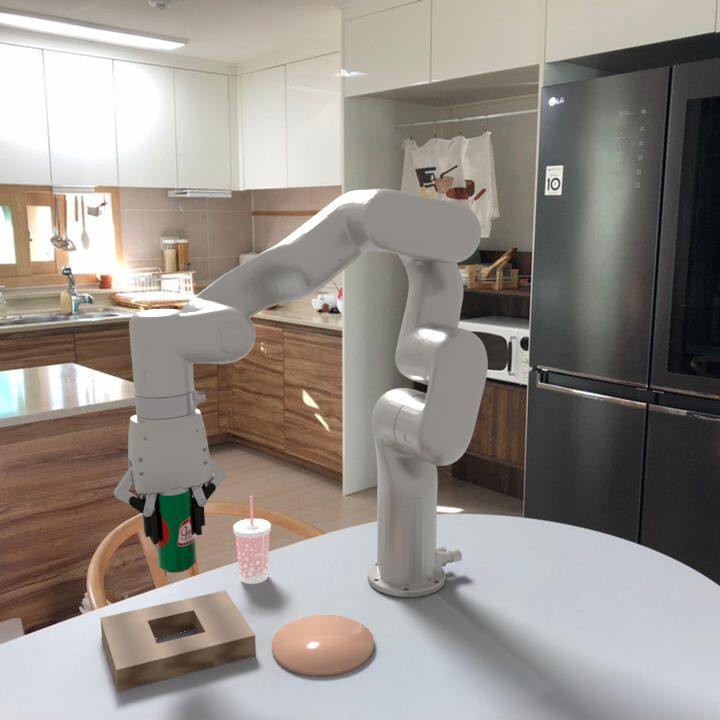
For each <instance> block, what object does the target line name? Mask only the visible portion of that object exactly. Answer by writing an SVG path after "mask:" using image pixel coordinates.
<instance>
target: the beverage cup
mask: <svg viewBox="0 0 720 720" xmlns="http://www.w3.org/2000/svg"><path fill="white" fill-rule="evenodd" d="M253 498H254V496H253V495H250V496H249V511H250V513H249V514H250V518H246V519H241V520H239V521H237V522H235V523H234V524H233V525H232V526H233V530H232V531H233V534H234V535H235V543H236V555H237V564H238V572H239V573H238V576H239V580H240V581H241V582H242V583H245V584H248V585H255V584H260V583H263V582H264V581H266V580H267V579H268V578H269V577H268V575H269V554H270V553H269V550H270V549H269V548H270V547H269V546H270V533H271V531H272V529H271V528H272V524H271V522H269V521H268V519H267V520H266V519H263V518H254V499H253Z"/></svg>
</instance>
